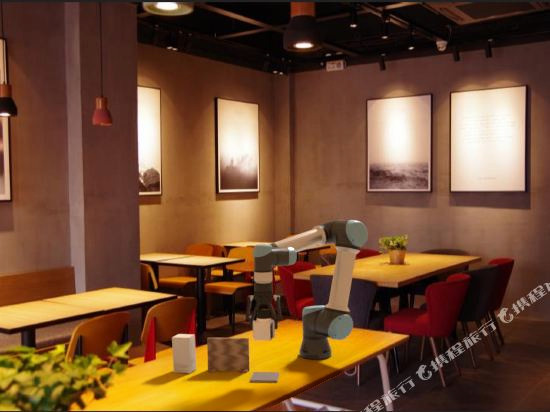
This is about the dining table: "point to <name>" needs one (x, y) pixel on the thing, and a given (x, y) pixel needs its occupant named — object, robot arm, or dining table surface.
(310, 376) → the dining table surface
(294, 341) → the dining table surface
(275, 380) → the coaster
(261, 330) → the medicine bottle
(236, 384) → the dining table surface
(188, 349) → the skincare box
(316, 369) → the dining table surface
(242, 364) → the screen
